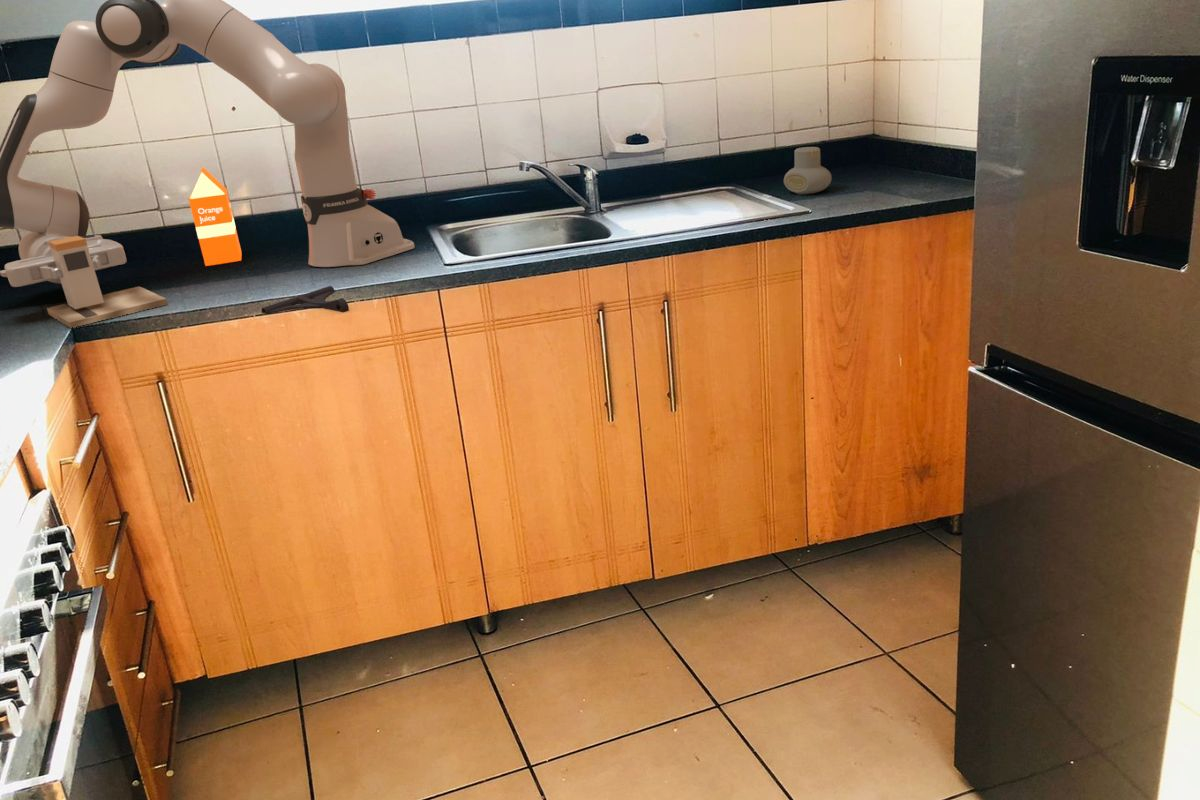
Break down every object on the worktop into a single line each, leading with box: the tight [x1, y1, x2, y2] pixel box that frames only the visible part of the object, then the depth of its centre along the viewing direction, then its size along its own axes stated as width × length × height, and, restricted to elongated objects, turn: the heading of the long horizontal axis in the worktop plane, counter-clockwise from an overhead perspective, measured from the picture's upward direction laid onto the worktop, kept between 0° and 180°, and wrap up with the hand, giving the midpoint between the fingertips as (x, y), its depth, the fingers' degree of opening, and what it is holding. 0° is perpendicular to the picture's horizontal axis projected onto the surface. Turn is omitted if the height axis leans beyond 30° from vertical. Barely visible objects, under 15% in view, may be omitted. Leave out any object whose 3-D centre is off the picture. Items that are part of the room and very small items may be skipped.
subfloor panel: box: [46, 286, 168, 329], centre depth 179 cm, size 17×16×1 cm
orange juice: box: [188, 166, 243, 267], centre depth 208 cm, size 8×9×20 cm
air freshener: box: [783, 146, 833, 196], centre depth 221 cm, size 11×8×10 cm
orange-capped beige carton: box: [49, 236, 104, 309], centre depth 174 cm, size 5×5×12 cm
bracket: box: [260, 285, 350, 315], centre depth 167 cm, size 14×15×3 cm
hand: (76, 269), depth 173 cm, fingers closed on orange-capped beige carton, 5 cm apart
